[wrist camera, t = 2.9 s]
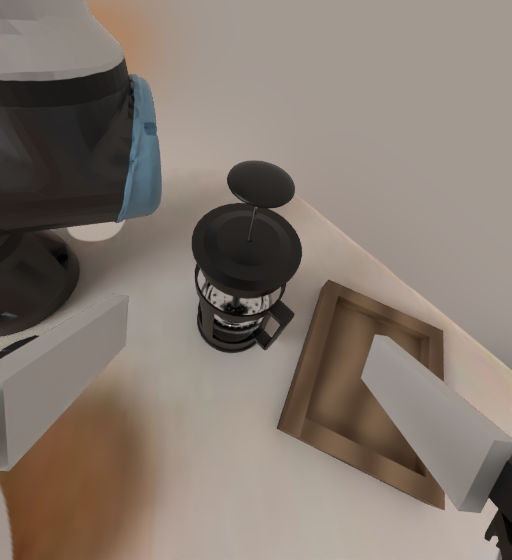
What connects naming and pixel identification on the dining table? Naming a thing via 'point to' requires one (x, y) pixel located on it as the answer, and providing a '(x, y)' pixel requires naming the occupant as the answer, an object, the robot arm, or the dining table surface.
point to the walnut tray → (359, 390)
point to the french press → (246, 258)
